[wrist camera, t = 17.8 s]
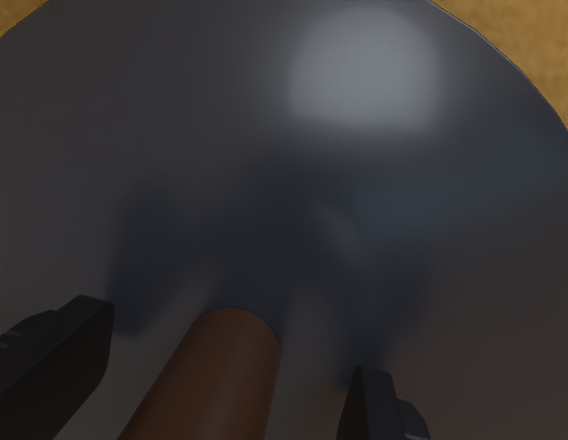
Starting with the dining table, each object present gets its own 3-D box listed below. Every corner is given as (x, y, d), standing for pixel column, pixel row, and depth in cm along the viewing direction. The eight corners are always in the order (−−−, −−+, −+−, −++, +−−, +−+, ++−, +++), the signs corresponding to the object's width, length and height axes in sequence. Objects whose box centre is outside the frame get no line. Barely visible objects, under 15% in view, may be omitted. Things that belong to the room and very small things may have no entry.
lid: (731, 59, 9) (1594, -52, 3) (460, 640, 14) (565, 1070, 7) (-62, -105, 10) (-713, -462, 4) (-60, 494, 14) (-345, 773, 8)
